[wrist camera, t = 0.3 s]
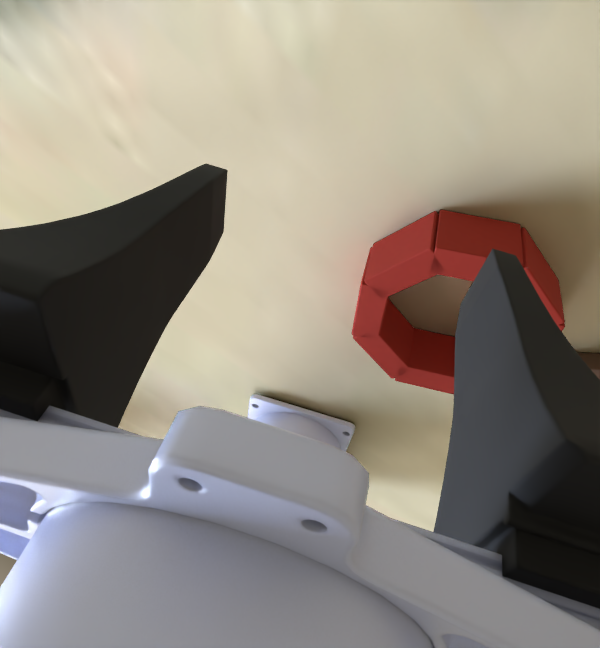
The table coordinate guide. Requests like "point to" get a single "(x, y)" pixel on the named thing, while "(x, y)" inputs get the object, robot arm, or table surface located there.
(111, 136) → the table surface
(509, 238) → the ring
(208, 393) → the table surface
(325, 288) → the table surface
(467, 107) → the table surface
